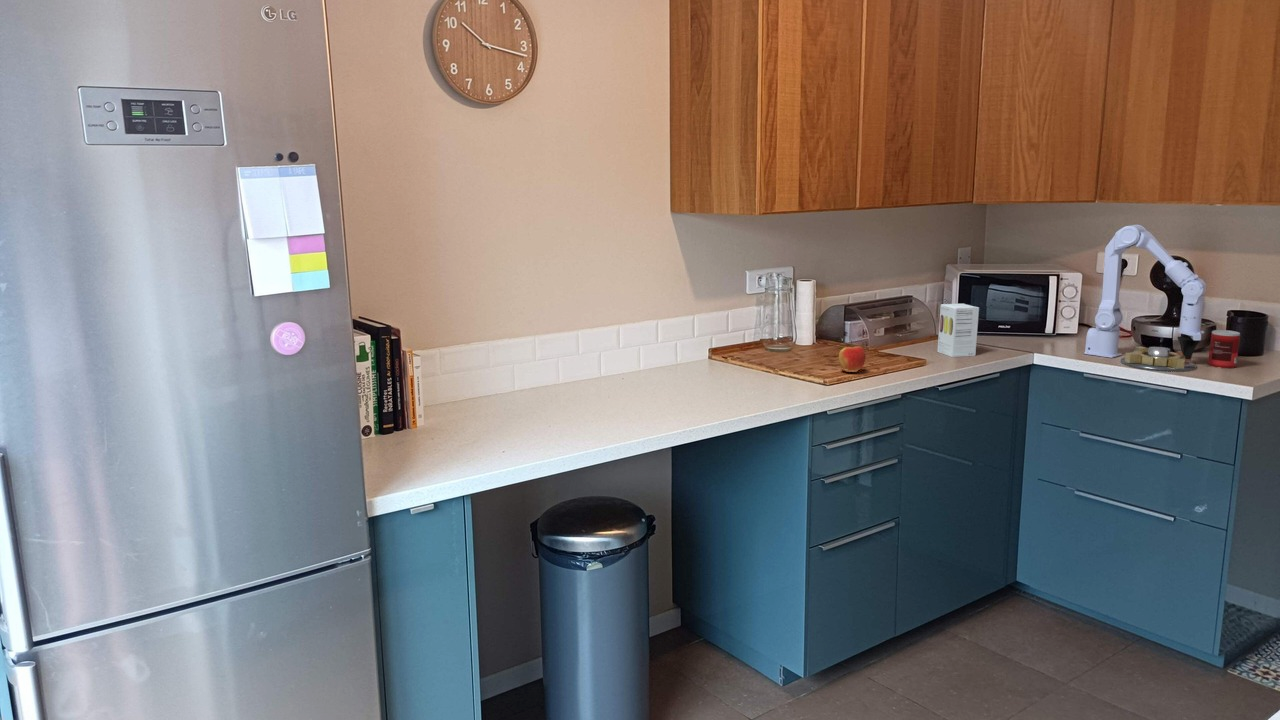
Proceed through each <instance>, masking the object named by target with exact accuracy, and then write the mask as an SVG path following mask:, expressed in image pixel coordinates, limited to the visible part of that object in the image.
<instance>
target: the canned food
mask: <svg viewBox="0 0 1280 720" xmlns="http://www.w3.org/2000/svg"><path fill="white" fill-rule="evenodd" d="M1240 338H1241V333H1240V332H1238V331H1234V330H1227V329H1226V330H1225V329H1214V330H1212V331H1211V336H1210V342H1209V343H1210V345H1209V350H1208V353H1209V354H1208V360H1207V361H1208V362H1207V363H1208V365H1209V366H1210V365H1211V366H1210V367H1213V366H1214V368H1218V367H1222V368H1221V369H1234V368H1236V366H1237V364H1238V363H1237V362H1238V354H1239V347H1240V340H1241V339H1240Z"/></svg>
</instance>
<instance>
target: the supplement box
mask: <svg viewBox="0 0 1280 720" xmlns="http://www.w3.org/2000/svg"><path fill="white" fill-rule="evenodd" d="M939 311H940V313H939V323H938V324H939V325H938V337H937V338H938V339H937V353H939V354H942V355H945V356H948V357H951V358H960V357H975V356H976V353H977V352H976V349H977V339H978V326H979V313H980V307H978V306H975V305H974V306H973V305H971V304H966V303H943V304H940V309H939Z"/></svg>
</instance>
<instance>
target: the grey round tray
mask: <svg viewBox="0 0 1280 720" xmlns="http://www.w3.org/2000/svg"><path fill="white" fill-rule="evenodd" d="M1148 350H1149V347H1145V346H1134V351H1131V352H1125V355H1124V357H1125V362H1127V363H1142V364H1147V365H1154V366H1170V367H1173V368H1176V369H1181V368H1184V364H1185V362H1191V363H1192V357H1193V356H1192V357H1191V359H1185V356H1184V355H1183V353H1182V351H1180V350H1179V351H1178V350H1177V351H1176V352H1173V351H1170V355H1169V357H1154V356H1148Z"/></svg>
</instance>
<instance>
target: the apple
mask: <svg viewBox="0 0 1280 720" xmlns="http://www.w3.org/2000/svg"><path fill="white" fill-rule="evenodd" d="M850 342H851V343H850V344H853V341H852V340H850ZM838 361H839V366H840V368H841V369H842V368H843V369H848V370H859V369H863V367H864V365H865V363H866V352H865V350H864V348H863V347H862V346H860V345H856V346H845V347H843V348H842V349H841V350H840V351H839V354H838ZM843 369H842V370H843Z"/></svg>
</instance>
